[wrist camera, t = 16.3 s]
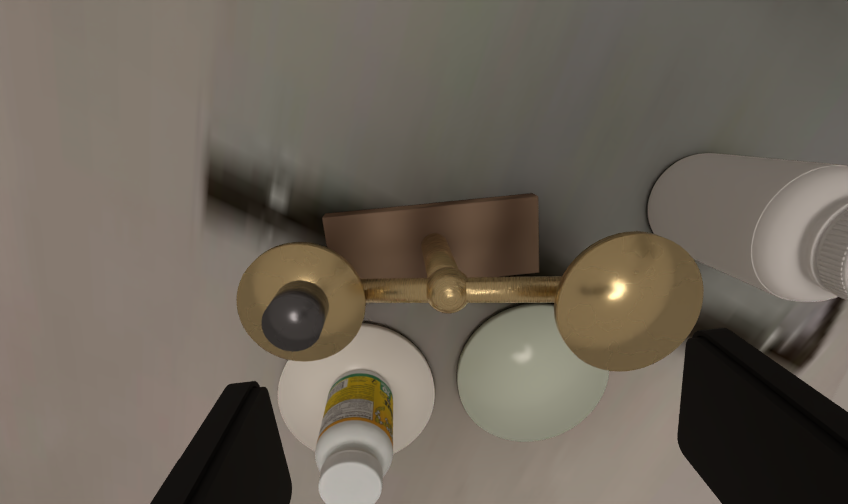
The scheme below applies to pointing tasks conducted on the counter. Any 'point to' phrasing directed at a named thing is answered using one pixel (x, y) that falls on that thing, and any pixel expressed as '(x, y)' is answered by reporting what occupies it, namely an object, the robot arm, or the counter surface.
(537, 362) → the pale green dish
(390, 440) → the supplement bottle
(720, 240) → the pill bottle
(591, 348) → the brass balance
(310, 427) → the cream dish
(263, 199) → the counter surface
